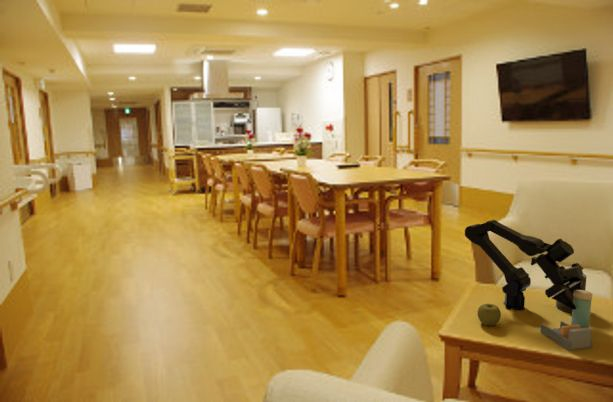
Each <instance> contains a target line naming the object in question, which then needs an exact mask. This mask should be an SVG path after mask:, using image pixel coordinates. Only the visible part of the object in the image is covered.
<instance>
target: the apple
mask: <svg viewBox="0 0 613 402" xmlns="http://www.w3.org/2000/svg"><path fill="white" fill-rule="evenodd" d="M477 317H478V320H479V322H480V323H481V324H482V325H485V326H489V327H490V326H496V325H498V323H499V322H500V320H501V317H502V313H501V310H500V308H499V306H497V305H495V304H492V303H483V304H481V305H479V307H478V309H477Z"/></svg>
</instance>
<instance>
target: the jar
mask: <svg viewBox="0 0 613 402" xmlns="http://www.w3.org/2000/svg"><path fill="white" fill-rule="evenodd" d="M573 296H574V298H573V303H574V305H575V306H576V309H575V310H573V311H572V312H571V313H572V314H571V324H570V325H577V324H578V325H580V328H587V327H588V328H590V321H591V320H590V319H591V309H592V301H593V300H592V299H593V293H592V292H591V291H588V290H586V289H585V290H575V291H574V293H573Z"/></svg>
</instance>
